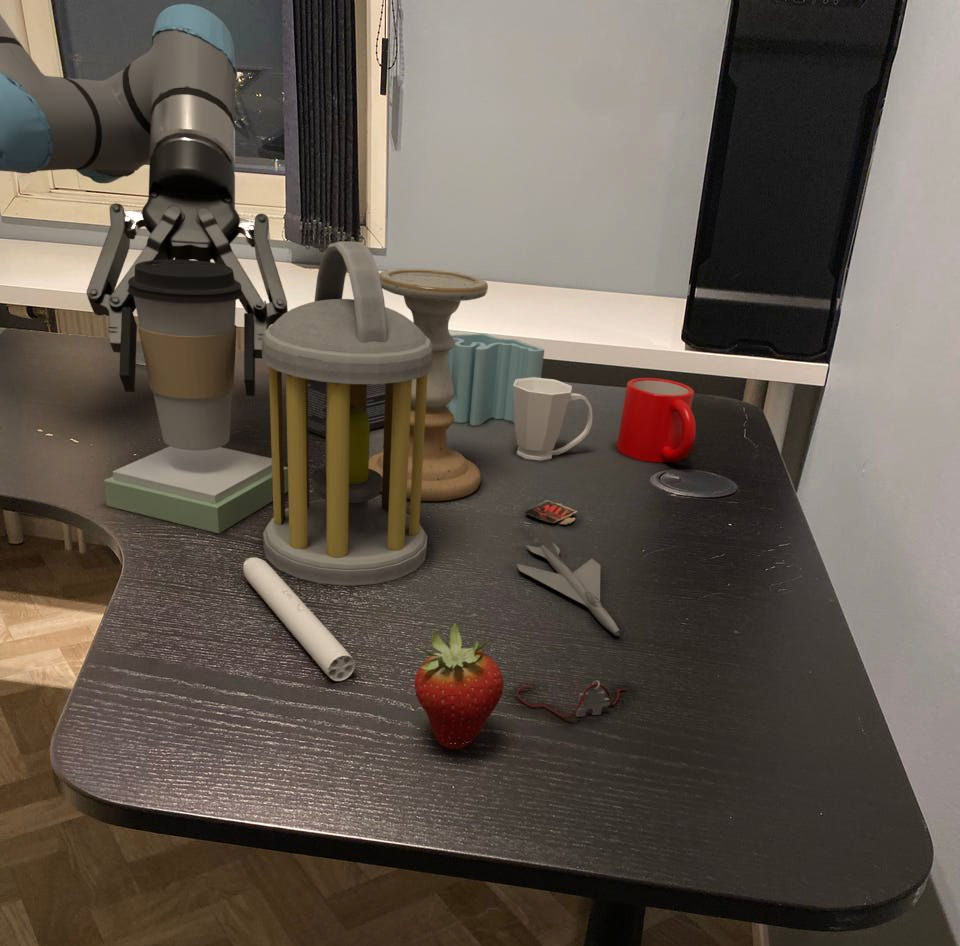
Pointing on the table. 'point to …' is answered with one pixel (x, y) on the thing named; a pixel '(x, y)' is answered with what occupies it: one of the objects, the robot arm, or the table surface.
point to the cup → (543, 416)
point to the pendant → (584, 700)
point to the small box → (319, 406)
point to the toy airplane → (571, 580)
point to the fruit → (457, 689)
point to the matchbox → (551, 512)
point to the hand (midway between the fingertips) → (189, 386)
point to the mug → (657, 421)
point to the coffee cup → (188, 347)
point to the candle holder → (435, 377)
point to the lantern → (347, 430)
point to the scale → (194, 486)
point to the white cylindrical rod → (299, 620)
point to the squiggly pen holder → (489, 375)
